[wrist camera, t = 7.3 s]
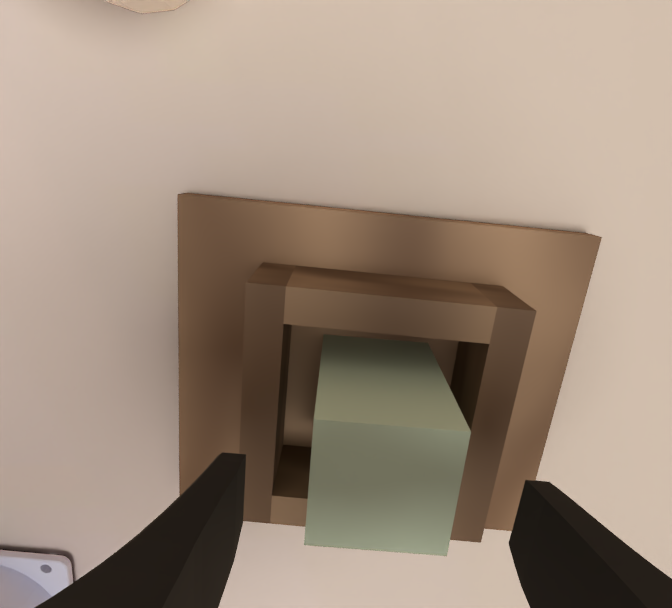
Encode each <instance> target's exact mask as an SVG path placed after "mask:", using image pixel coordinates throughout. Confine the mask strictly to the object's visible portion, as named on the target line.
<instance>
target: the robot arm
mask: <svg viewBox="0 0 672 608" xmlns="http://www.w3.org/2000/svg"><path fill="white" fill-rule="evenodd" d="M245 468H246V454H236V453H225V452H222V453H221V454H219V455H218V456H217V457H216V458H215V459H214V461H213V462H212V463H211V464H210V465H209V466H208V467H207V468H206V469H205V471H204V472H203V473H202V474H201V475H200V476H199V477H198V478H197V479H196V480H195V481H194V482H193V483H192V484H191V485H190V486H189V487H188V488H187V489H186V490H185V491H184V492H183V493H182V494H181V495H180V496H179V497H178V498H177V499H176V500H175V501H174V502H173V503H172V504H171V505H170V506H169V507H168V508H167V509H166V510H165V511H164V512H163V513H162V514H160V515H159V516H158V517H157V518H156V519H155V520H154V521H153V522H151V523H150V524H149V525H148V526H147V527H146V528H145V529H144V530H142V531H141V532H140V533H139V534H138V535H137V536H135V537H134V538H133V539H132V540H131V541H129V542H128V543H127V544H126V545H124V546H123V547H122V548H121V549H119V550H118V551H117V552H116V553H114V554H113V555H112V556H110V557H109V558H108V559H106V560H105V561H104V562H102V563H101V564H100V565H98V566H97V567H95V568H94V569H93V570H91V571H90V572H88V573H87V574H85V575H84V576H83V577H81V578H80V579H78V580H77V581H75V582H74V583H73V575H72V564H71V562H70V560H69V559H68V558H67V557H65V556H62V555H52V554H40V553H29V552H18V551H7V550H0V608H218V606H219V603H220V600H221V597H222V595H223V592H224V589H225V586H226V583H227V580H228V577H229V574H230V571H231V568H232V565H233V562H234V558H235V554H236V550H237V545H238V541H239V536H240V532H241V527H242V523H243V513H244V491H245ZM509 546H510V550H511V553H512V557H513V560H514V564H515V567H516V571H517V574H518V577H519V580H520V583H521V586H522V589H523V591H524V594H525V596H526V598H527V601H528V603H529V605H530V608H672V579H671V578H670V577H668V576H667V575H666V574H664V573H663V572H662V571H660V570H659V569H658V568H656V567H655V566H654V565H652V564H651V563H650V562H648V561H647V560H646V559H644V558H643V557H642V556H641V555H639V554H638V553H637V552H635V551H634V550H633V549H632V548H630V547H629V546H628V545H627V544H625V543H624V542H623V541H622V540H620V539H619V538H618V537H617V536H615V535H614V534H613V533H612V532H610V531H609V530H608V529H607V528H606V527H604V526H603V525H602V524H601V523H600V522H598V521H597V520H596V519H595V518H594V517H592V516H591V515H590V514H589V513H587V512H586V511H585V510H584V509H583V508H581V507H580V506H579V505H578V504H577V503H575V502H574V501H573V500H572V499H570V498H569V497H568V496H567V495H566V494H564V493H563V492H562V491H560V490H559V489H558V488H557V487H555V486H554V485H552V484H551V483H550V482H544V481H533V480H525V484H524V487H523V491H522V495H521V499H520V502H519V506H518V510H517V514H516V518H515V521H514V525H513V529H512V533H511V537H510V540H509Z"/></svg>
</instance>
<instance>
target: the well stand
mask: <svg viewBox="0 0 672 608" xmlns="http://www.w3.org/2000/svg"><path fill="white" fill-rule="evenodd" d="M601 238H602V237H599V236H595V235H591V234H588V233H579V232H569V231H559V230H549V229H539V228H530V227H520V226H510V225H500V224H490V223H480V222H470V221H460V220H450V219H440V218H430V217H420V216H411V215H401V214H391V213H381V212H371V211H361V210H351V209H341V208H331V207H321V206H311V205H301V204H292V203H282V202H272V201H262V200H252V199H242V198H232V197H222V196H212V195H202V194H192V193H184V194H178V333H179V480H180V495H181V494H182V493H183V492H184V491H185V490H186V489H187V488H188V487H189V486H190V485H191V484H192V483H193V482H194V481H195V480H196V479H197V478H198V477H199V476H200V475H201V474H202V473H203V472H204V471H205V469H206V468H207V467H208V466H209V465H210V464H211V463H212V462H213V461H214V459H215V458H216V457H217V456H218V455H219V454H221V453H222V452H225V453H236V454H246V468H245V491H244V513H243V521H250V522H261V523H272V524H283V525H294V526H305V527H306V514H307V501H308V488H309V474H310V461H311V448H312V435H313V422H314V412H315V404H316V395H317V387H318V378H319V370H320V361H321V352H322V344H323V335H324V334H326V335H338V336H350V337H362V338H375V339H387V340H399V341H411V342H423V343H428V344H429V346H430V348H431V350H432V352H433V354H434V356H435V359H436V361H437V363H438V365H439V367H440V369H441V371H442V373H443V375H444V377H445V379H446V381H447V383H448V385H449V387H450V389H451V392H452V394H453V396H454V398H455V400H456V402H457V404H458V406H459V408H460V410H461V412H462V414H463V416H464V418H465V420H466V422H467V425H468V427H469V429H470V431H471V435H470V440H469V445H468V450H467V455H466V460H465V465H464V470H463V476H462V481H461V486H460V491H459V496H458V501H457V506H456V511H455V516H454V521H453V527H452V532H451V537H450V540H459V541H470V542H481V539H482V535H483V531H484V528H485V529H496V530H507V531H512V529H513V525H514V521H515V518H516V514H517V510H518V506H519V502H520V499H521V495H522V491H523V487H524V484H525V480H533V481H535V479H536V476H537V472H538V468H539V465H540V461H541V457H542V454H543V450H544V447H545V443H546V439H547V436H548V432H549V428H550V425H551V421H552V417H553V414H554V410H555V406H556V403H557V399H558V395H559V392H560V388H561V384H562V381H563V377H564V373H565V370H566V366H567V362H568V359H569V355H570V351H571V348H572V344H573V340H574V337H575V333H576V329H577V326H578V322H579V318H580V315H581V311H582V307H583V304H584V300H585V296H586V293H587V289H588V285H589V282H590V278H591V274H592V271H593V267H594V263H595V260H596V256H597V252H598V249H599V245H600V241H601Z"/></svg>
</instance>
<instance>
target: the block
mask: <svg viewBox="0 0 672 608" xmlns="http://www.w3.org/2000/svg"><path fill="white" fill-rule="evenodd" d="M470 435H471V431H470V429H469V427H468V425H467V422H466V420H465V418H464V416H463V414H462V412H461V410H460V408H459V406H458V404H457V402H456V400H455V398H454V396H453V394H452V392H451V389H450V387H449V385H448V383H447V381H446V379H445V377H444V375H443V373H442V371H441V369H440V367H439V365H438V363H437V361H436V359H435V356H434V354H433V352H432V350H431V348H430V346H429V344H428V343H423V342H411V341H399V340H387V339H375V338H362V337H350V336H338V335H326V334H324V335H323V344H322V352H321V361H320V370H319V378H318V387H317V395H316V404H315V412H314V422H313V435H312V448H311V461H310V474H309V488H308V501H307V514H306V527H305V540H304V545H310V546H323V547H336V548H349V549H362V550H375V551H388V552H400V553H413V554H426V555H439V556H447V552H448V547H449V542H450V537H451V532H452V527H453V521H454V516H455V511H456V506H457V501H458V496H459V491H460V486H461V481H462V476H463V470H464V465H465V460H466V455H467V450H468V445H469V440H470Z"/></svg>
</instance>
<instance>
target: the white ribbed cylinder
mask: <svg viewBox="0 0 672 608" xmlns="http://www.w3.org/2000/svg"><path fill="white" fill-rule="evenodd" d="M105 1H107V2H109V3H111V4H114V5H117V6H120V7H123V8H126V9H129V10H132V11H135V12H138V13H141V14H145V13H153V12H162V11H170V10H175V9H177V8H178V7H180V6H181V5H183V4H184V3H186V2H187V1H189V0H105Z"/></svg>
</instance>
